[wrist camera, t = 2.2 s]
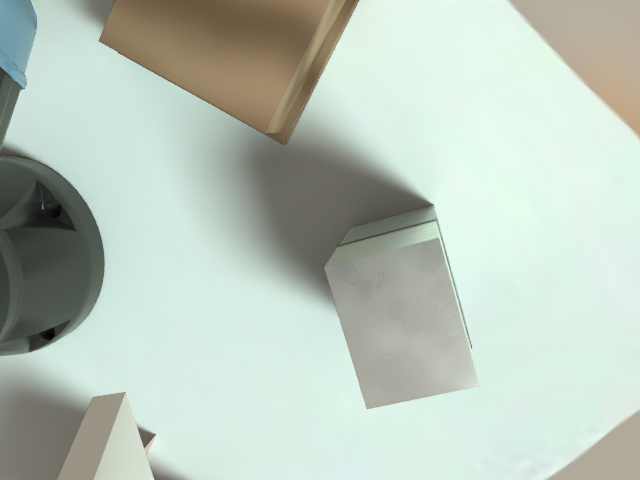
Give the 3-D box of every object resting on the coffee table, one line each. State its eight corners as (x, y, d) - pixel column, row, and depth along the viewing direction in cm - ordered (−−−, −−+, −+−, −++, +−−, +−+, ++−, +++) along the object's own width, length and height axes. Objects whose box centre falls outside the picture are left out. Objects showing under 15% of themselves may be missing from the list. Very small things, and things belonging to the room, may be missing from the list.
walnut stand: (286, 143, 42) (268, 146, 38) (124, 54, 43) (86, 45, 38) (363, -9, 40) (355, -28, 35) (189, -103, 40) (158, -133, 35)
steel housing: (380, 333, 44) (366, 410, 32) (349, 227, 43) (322, 266, 31) (464, 314, 43) (481, 386, 31) (434, 204, 42) (439, 236, 30)
